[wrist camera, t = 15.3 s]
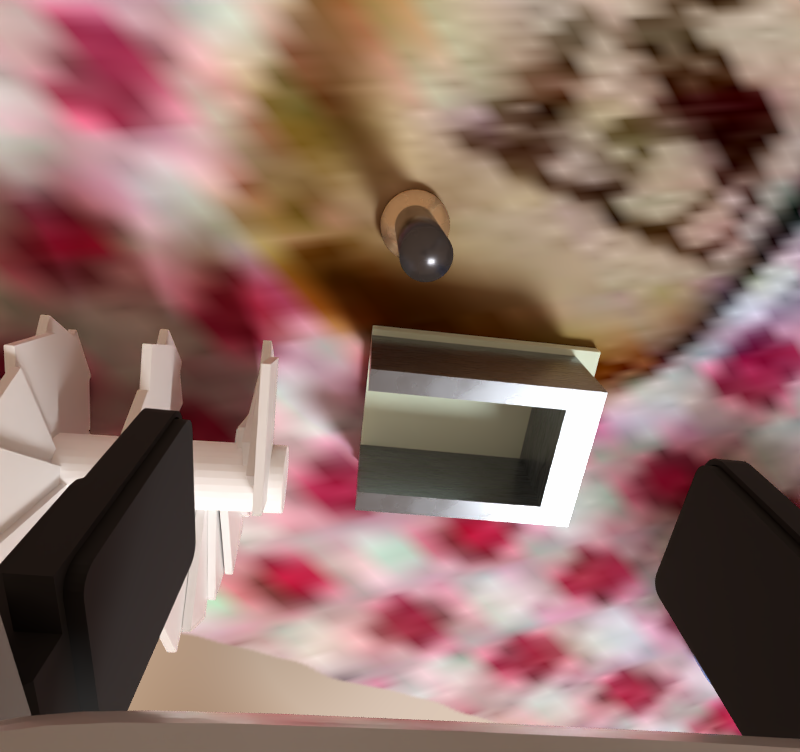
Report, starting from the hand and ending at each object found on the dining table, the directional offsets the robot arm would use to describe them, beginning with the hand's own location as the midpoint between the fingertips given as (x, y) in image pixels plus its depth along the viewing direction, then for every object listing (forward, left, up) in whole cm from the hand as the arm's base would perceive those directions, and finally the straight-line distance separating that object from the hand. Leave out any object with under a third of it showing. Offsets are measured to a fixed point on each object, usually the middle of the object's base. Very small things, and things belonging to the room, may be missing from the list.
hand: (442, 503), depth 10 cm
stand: (-1, -1, -28) cm, 28 cm away
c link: (-6, +11, -28) cm, 30 cm away
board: (-7, +12, -28) cm, 31 cm away
